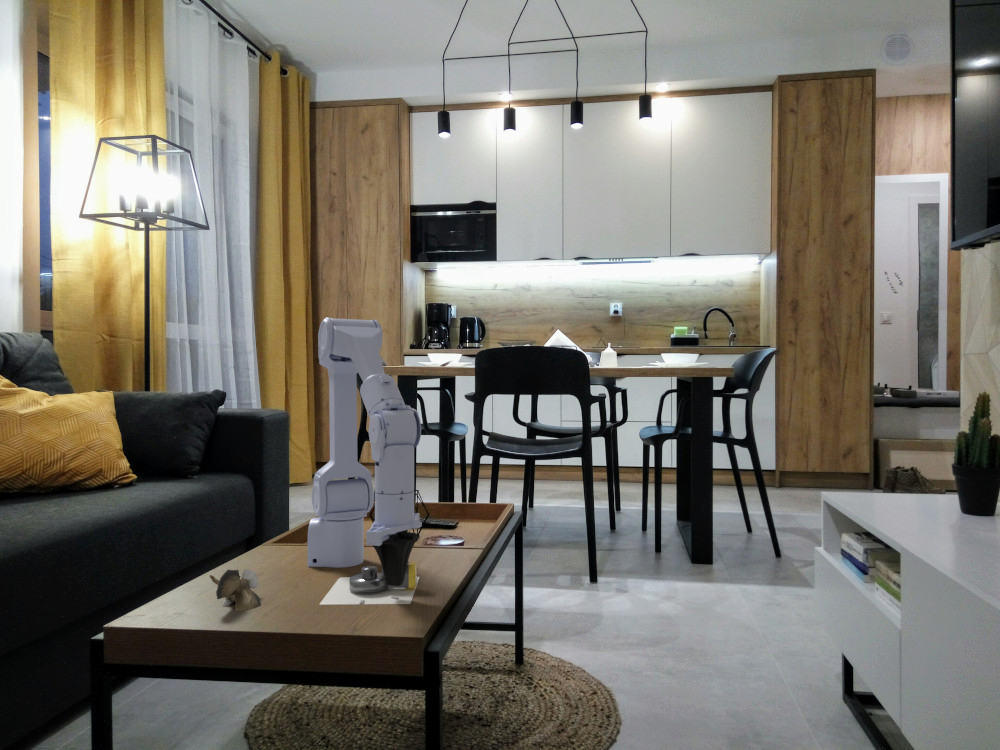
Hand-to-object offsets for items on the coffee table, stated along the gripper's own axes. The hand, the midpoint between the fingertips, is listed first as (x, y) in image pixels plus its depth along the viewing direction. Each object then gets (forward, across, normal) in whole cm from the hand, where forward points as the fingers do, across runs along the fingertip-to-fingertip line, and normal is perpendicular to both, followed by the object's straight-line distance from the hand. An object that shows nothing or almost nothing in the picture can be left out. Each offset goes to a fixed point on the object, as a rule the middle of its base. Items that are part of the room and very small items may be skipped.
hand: (394, 584), depth 101 cm
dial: (+2, +4, +4) cm, 5 cm away
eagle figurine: (+3, -8, +21) cm, 23 cm away
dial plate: (+3, +3, +5) cm, 7 cm away
